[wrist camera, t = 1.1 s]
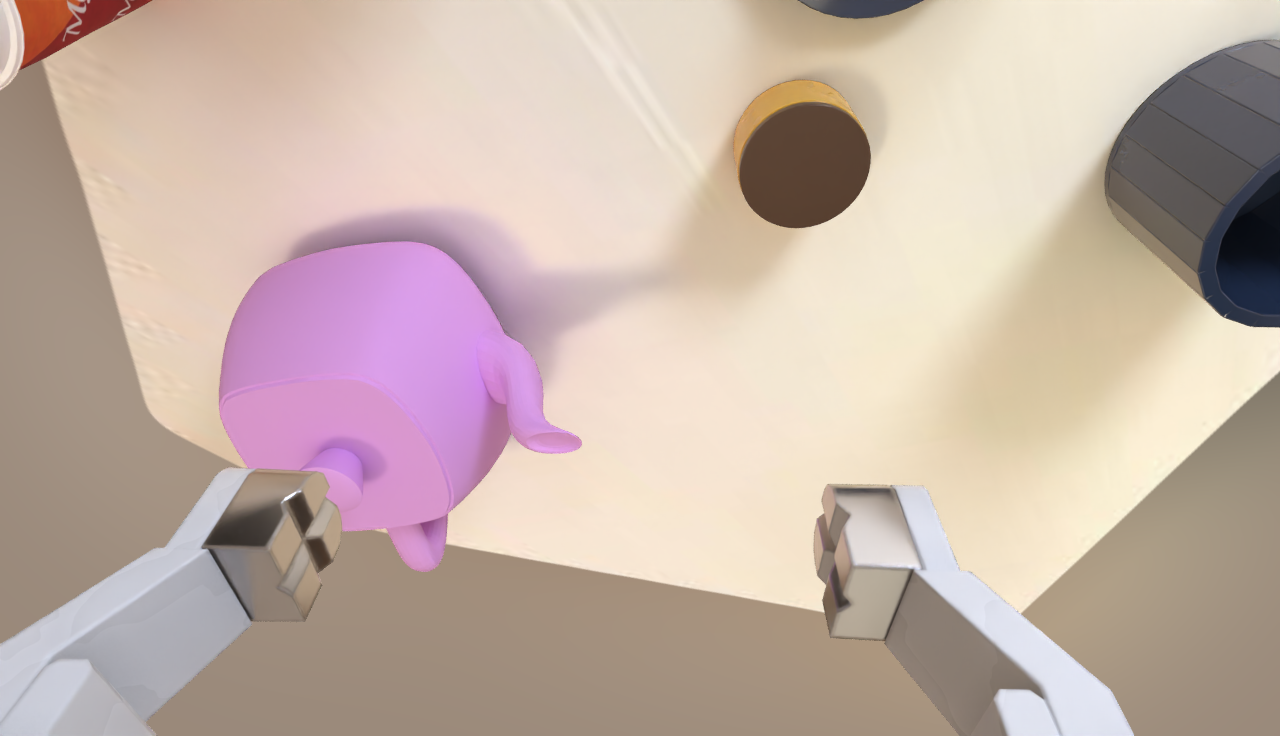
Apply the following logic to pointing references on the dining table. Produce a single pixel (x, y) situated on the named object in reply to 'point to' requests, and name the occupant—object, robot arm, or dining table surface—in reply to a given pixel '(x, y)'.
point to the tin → (800, 154)
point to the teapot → (380, 386)
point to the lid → (859, 7)
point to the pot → (1209, 180)
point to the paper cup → (50, 28)
